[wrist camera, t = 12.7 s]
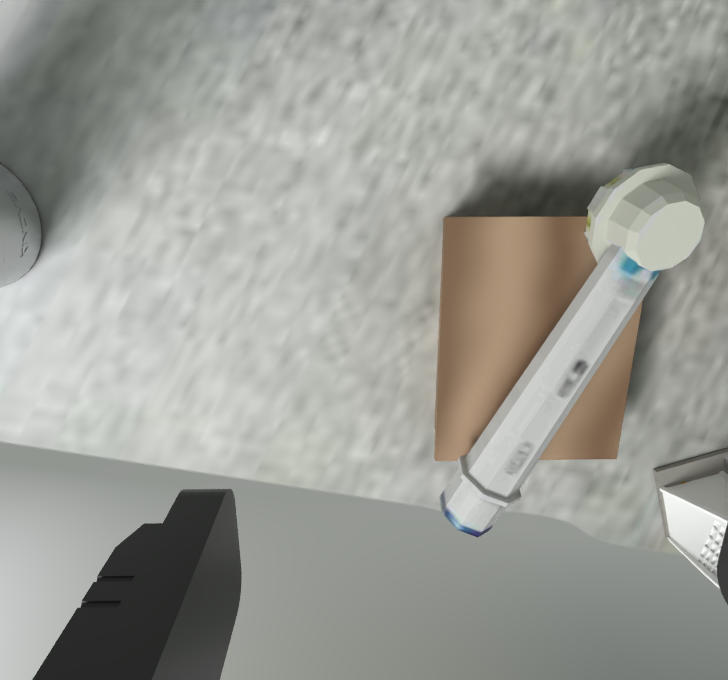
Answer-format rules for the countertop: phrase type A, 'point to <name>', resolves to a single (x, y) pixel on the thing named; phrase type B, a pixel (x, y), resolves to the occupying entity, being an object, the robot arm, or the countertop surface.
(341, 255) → the countertop surface
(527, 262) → the stand
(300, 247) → the countertop surface
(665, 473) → the skyscraper
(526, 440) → the white handheld device
